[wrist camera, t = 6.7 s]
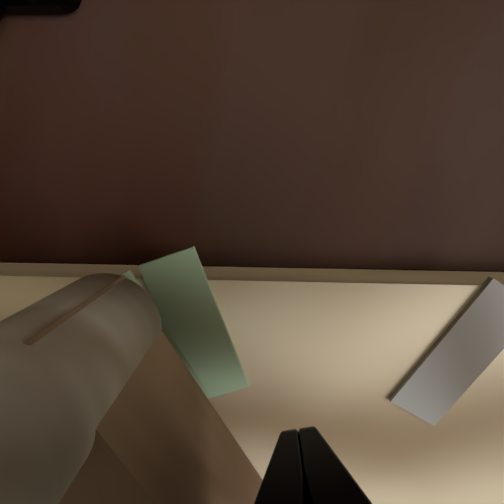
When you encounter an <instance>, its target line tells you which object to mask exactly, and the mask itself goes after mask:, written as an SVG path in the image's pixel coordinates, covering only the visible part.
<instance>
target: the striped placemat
mask: <svg viewBox="0 0 504 504" xmlns="http://www.w3.org/2000/svg"><path fill="white" fill-rule="evenodd" d="M96 273H111V274H116V275H120V276H123V275H125V277H126V278H128V279H130V280H132V281H134V282H135V283H137V284H138V285H140V286H141V287H142V288H143V289H144V290H145V291H146V292H147V293H148V294H149V295H150V296H151V298H152V299H153V300H154V302H155V304H156V306H157V308H158V310H159V313H160V317H161V323H162V332H163V333H164V335H165V336H166V337H167V339H168V340H169V342H170V343H171V345H172V346H173V348H174V349H175V351H176V352H177V354H178V355H179V357H180V358H181V360H182V361H183V363H184V364H185V366H186V367H187V369H188V370H189V372H190V373H191V375H192V376H193V378H194V379H195V380H196V382H197V383H198V385H199V386H200V388H201V389H202V391H203V392H204V394H205V395H206V397H207V398H208V400H209V401H210V403H211V404H212V406H213V407H214V409H215V410H216V412H217V413H218V415H219V416H220V418H221V419H222V420H223V422H224V423H225V425H226V426H227V428H228V429H229V431H230V432H231V434H232V435H233V437H234V438H235V440H236V441H237V443H238V444H239V446H240V447H241V449H242V450H243V452H244V453H245V455H246V456H247V458H248V459H249V460H250V462H251V463H252V465H253V466H254V468H255V469H256V471H257V472H258V474H259V475H260V477H261V478H262V480H263V478H264V475H265V472H266V470H267V467H268V464H269V462H270V459H271V456H272V454H273V451H274V448H275V445H276V443H277V440H278V437H279V435H280V433H281V432H282V431H284V430H290V429H297V430H298V432H299V429H300V428H303V427H310V426H315V427H316V428H317V429H318V430H319V432H320V433H321V435H322V436H323V437H324V439H325V440H326V441H327V443H328V444H329V445H330V447H331V448H332V449H333V451H334V452H335V454H336V455H337V456H338V458H339V459H340V460H341V462H342V463H343V464H344V466H345V467H346V469H347V470H348V471H349V473H350V474H351V475H352V477H353V478H354V479H355V481H356V482H357V483H358V485H359V486H360V488H361V489H362V490H363V492H364V493H365V494H366V496H367V497H368V498H369V500H370V501H371V503H372V504H504V272H475V271H422V270H369V269H316V268H264V267H211V266H202V264H201V262H200V259H199V257H198V254H197V252H196V249H195V247H194V246H193V247H190V248H187V249H184V250H181V251H178V252H176V253H173V254H170V255H167V256H164V257H161V258H158V259H155V260H152V261H149V262H146V263H144V264H141V265H105V264H53V263H0V321H2V320H3V319H5V318H7V317H9V316H11V315H13V314H15V313H16V312H18V311H20V310H22V309H24V308H26V307H28V306H30V305H31V304H33V303H35V302H37V301H39V300H41V299H43V298H45V297H46V296H48V295H50V294H52V293H54V292H56V291H58V290H59V289H61V288H63V287H65V286H67V285H69V284H71V283H73V282H74V281H76V280H78V279H80V278H82V277H84V276H87V275H91V274H96Z"/></svg>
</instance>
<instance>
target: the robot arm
mask: <svg viewBox="0 0 504 504" xmlns="http://www.w3.org/2000/svg"><path fill="white" fill-rule="evenodd" d="M80 3H81V0H0V20H1V19H3V18H4V17H6V16H7V13H71V12H74V11H75V10H76V9H77V8H78V7H79V5H80ZM254 504H372V503H371V501H370V500H369V498H368V497H367V496H366V494H365V493H364V492H363V490H362V489H361V488H360V486H359V485H358V483H357V482H356V481H355V479H354V478H353V477H352V475H351V474H350V473H349V471H348V470H347V469H346V467H345V466H344V464H343V463H342V462H341V460H340V459H339V458H338V456H337V455H336V454H335V452H334V451H333V449H332V448H331V447H330V445H329V444H328V443H327V441H326V440H325V439H324V437H323V436H322V435H321V433H320V432H319V430H318V429H317V428H316V427H315V426H310V427H303V428H300V429H299V432H298V430H297V429H290V430H284V431H282V432H281V433H280V435H279V437H278V440H277V443H276V445H275V448H274V451H273V454H272V456H271V459H270V462H269V464H268V467H267V470H266V472H265V475H264V478H263V481H262V483H261V486H260V489H259V491H258V494H257V497H256V499H255V502H254Z"/></svg>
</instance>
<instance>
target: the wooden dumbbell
mask: <svg viewBox="0 0 504 504" xmlns="http://www.w3.org/2000/svg"><path fill="white" fill-rule="evenodd" d="M262 481H263V480H262V478H261V477H260V475H259V474H258V472H257V471H256V469H255V468H254V466H253V465H252V463H251V462H250V460H249V459H248V458H247V456H246V455H245V453H244V452H243V450H242V449H241V447H240V446H239V444H238V443H237V441H236V440H235V438H234V437H233V435H232V434H231V432H230V431H229V429H228V428H227V426H226V425H225V423H224V422H223V420H222V419H221V418H220V416H219V415H218V413H217V412H216V410H215V409H214V407H213V406H212V404H211V403H210V401H209V400H208V398H207V397H206V395H205V394H204V392H203V391H202V389H201V388H200V386H199V385H198V383H197V382H196V380H195V379H194V378H193V376H192V375H191V373H190V372H189V370H188V369H187V367H186V366H185V364H184V363H183V361H182V360H181V358H180V357H179V355H178V354H177V352H176V351H175V349H174V348H173V346H172V345H171V343H170V342H169V340H168V339H167V337H166V336H165V335H164V333H163V332H162V323H161V317H160V313H159V310H158V308H157V306H156V304H155V302H154V300H153V299H152V298H151V296H150V295H149V294H148V293H147V292H146V291H145V290H144V289H143V288H142V287H141V286H140V285H138V284H137V283H135V282H134V281H132V280H130V279H128V278H126V277H125V275H123V276H120V275H116V274H111V273H96V274H91V275H87V276H84V277H82V278H80V279H78V280H76V281H74V282H73V283H71V284H69V285H67V286H65V287H63V288H61V289H59V290H58V291H56V292H54V293H52V294H50V295H48V296H46V297H45V298H43V299H41V300H39V301H37V302H35V303H33V304H31V305H30V306H28V307H26V308H24V309H22V310H20V311H18V312H16V313H15V314H13V315H11V316H9V317H7V318H5V319H3V320H2V321H0V504H254V502H255V499H256V497H257V494H258V491H259V489H260V486H261V483H262Z"/></svg>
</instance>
